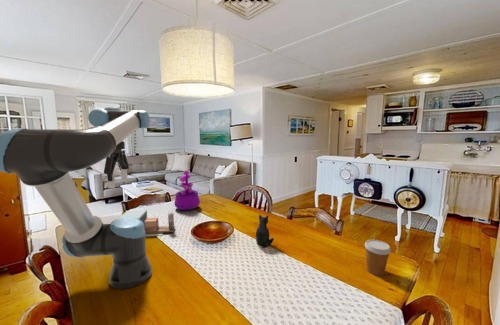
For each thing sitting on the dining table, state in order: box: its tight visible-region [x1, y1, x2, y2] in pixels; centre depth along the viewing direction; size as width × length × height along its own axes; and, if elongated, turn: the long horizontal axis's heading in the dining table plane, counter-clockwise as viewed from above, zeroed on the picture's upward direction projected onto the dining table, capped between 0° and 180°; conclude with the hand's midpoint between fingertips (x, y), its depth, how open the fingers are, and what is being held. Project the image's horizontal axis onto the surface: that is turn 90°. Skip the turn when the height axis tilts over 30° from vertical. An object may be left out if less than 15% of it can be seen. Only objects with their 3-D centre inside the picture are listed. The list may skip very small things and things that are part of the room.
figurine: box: [255, 214, 275, 248], centre depth 118 cm, size 10×10×15 cm
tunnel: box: [117, 209, 148, 229], centre depth 132 cm, size 14×33×11 cm, turn 97°
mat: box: [145, 233, 164, 237], centre depth 134 cm, size 11×10×1 cm
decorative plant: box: [174, 169, 201, 211], centre depth 173 cm, size 19×18×30 cm
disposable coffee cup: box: [364, 239, 392, 277], centre depth 95 cm, size 10×10×12 cm
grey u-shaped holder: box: [144, 212, 176, 234], centre depth 133 cm, size 7×16×10 cm, turn 97°
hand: (118, 184), depth 111 cm, fingers open, 13 cm apart
